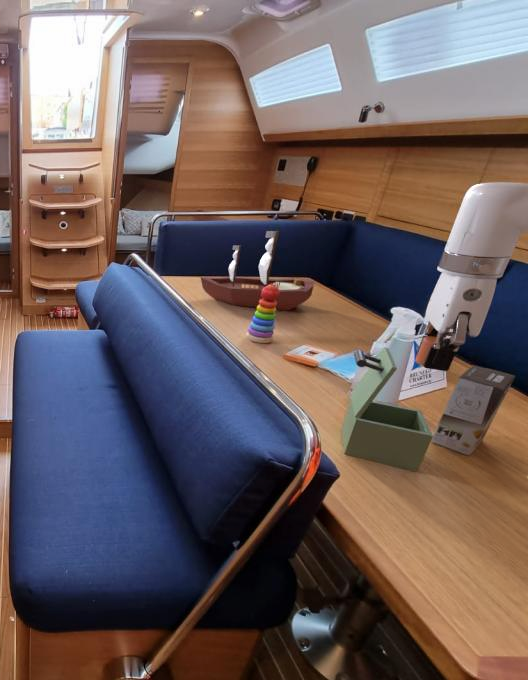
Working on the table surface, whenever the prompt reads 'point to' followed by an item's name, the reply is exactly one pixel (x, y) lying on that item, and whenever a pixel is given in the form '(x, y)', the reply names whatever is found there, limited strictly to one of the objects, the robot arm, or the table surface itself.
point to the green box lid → (371, 379)
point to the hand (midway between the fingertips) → (431, 362)
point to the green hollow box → (387, 435)
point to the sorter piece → (425, 349)
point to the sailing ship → (258, 283)
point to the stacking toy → (264, 316)
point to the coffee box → (472, 408)
